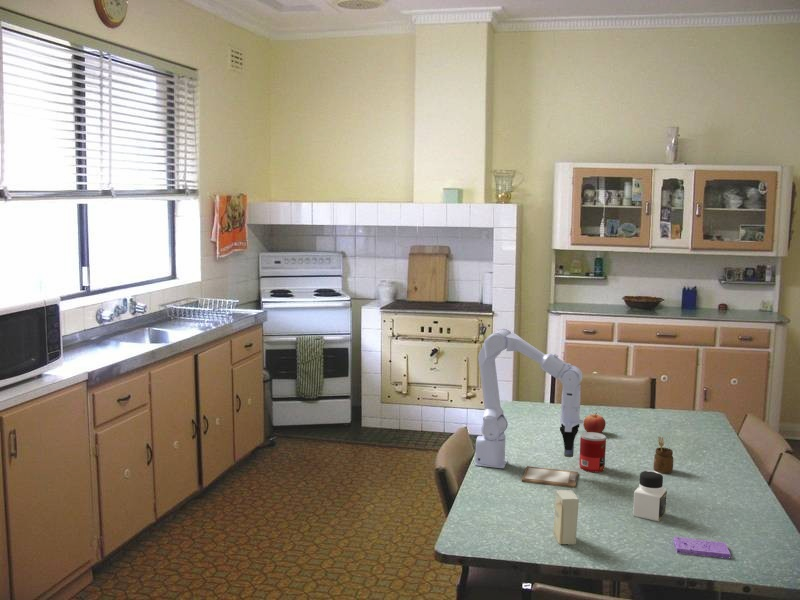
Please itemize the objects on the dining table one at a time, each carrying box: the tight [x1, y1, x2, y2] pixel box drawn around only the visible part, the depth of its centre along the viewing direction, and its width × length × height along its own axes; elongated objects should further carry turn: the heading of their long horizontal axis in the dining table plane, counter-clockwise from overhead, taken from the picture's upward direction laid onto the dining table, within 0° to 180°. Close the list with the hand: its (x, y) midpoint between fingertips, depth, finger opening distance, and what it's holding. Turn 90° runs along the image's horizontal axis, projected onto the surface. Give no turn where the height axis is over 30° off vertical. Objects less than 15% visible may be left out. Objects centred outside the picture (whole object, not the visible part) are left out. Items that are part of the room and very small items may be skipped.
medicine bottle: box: [632, 470, 667, 522], centre depth 217 cm, size 7×7×12 cm
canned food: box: [578, 431, 607, 473], centre depth 254 cm, size 8×8×11 cm
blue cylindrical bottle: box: [563, 443, 575, 458], centre depth 247 cm, size 3×3×8 cm
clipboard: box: [521, 465, 579, 488], centre depth 246 cm, size 16×13×1 cm
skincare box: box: [552, 489, 580, 546], centre depth 200 cm, size 6×4×12 cm
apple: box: [583, 412, 607, 434], centre depth 293 cm, size 8×8×8 cm
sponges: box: [673, 536, 731, 559], centre depth 196 cm, size 7×13×2 cm, turn 77°
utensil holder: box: [653, 435, 674, 475], centre depth 253 cm, size 6×6×12 cm
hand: (568, 448), depth 247 cm, fingers closed on blue cylindrical bottle, 3 cm apart
